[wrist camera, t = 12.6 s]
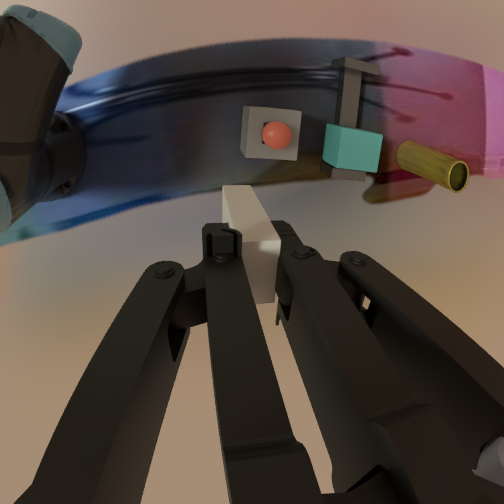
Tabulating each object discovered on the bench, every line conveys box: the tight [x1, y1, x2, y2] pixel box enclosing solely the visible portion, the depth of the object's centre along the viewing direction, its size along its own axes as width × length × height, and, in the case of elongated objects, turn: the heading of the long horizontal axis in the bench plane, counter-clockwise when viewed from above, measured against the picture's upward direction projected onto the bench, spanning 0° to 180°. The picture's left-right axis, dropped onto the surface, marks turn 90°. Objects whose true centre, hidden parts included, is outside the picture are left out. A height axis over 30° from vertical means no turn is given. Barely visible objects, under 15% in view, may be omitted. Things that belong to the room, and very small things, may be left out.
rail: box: [320, 57, 380, 181], centre depth 42 cm, size 19×6×5 cm, turn 176°
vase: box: [397, 140, 469, 193], centre depth 42 cm, size 6×6×14 cm
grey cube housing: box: [240, 106, 302, 161], centre depth 40 cm, size 7×7×7 cm
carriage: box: [322, 123, 383, 173], centre depth 42 cm, size 6×7×7 cm
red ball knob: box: [261, 121, 292, 149], centre depth 38 cm, size 4×4×5 cm
